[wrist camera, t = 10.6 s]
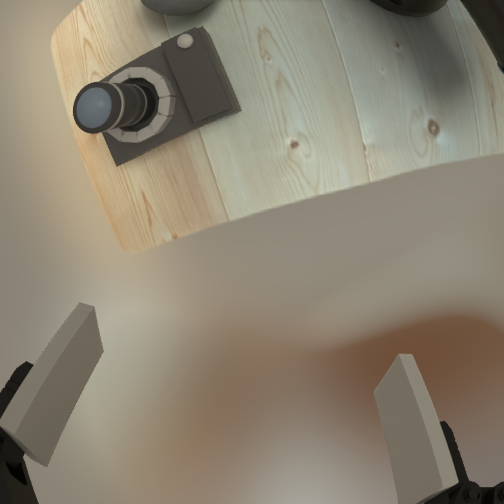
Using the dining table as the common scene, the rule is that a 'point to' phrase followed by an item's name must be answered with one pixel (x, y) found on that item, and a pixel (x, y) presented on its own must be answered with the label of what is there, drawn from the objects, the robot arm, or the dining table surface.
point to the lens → (112, 106)
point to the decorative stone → (176, 6)
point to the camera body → (173, 93)
